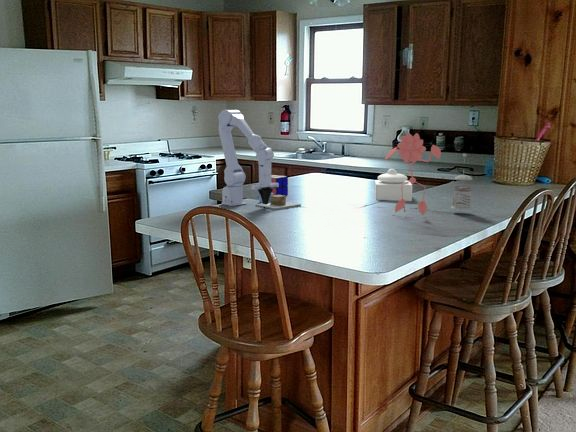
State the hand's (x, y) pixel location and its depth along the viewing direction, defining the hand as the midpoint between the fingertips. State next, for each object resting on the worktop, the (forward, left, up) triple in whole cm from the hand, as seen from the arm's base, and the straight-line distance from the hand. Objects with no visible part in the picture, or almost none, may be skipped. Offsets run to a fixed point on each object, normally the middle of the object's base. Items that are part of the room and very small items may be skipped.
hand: (265, 204), depth 266 cm
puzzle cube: (+30, +28, -2) cm, 41 cm away
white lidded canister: (+65, -23, -2) cm, 69 cm away
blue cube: (+10, +11, -2) cm, 15 cm away
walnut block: (+8, 0, -1) cm, 8 cm away
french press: (+68, -59, -2) cm, 90 cm away
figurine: (+35, -54, -2) cm, 64 cm away
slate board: (+8, 0, -2) cm, 8 cm away
